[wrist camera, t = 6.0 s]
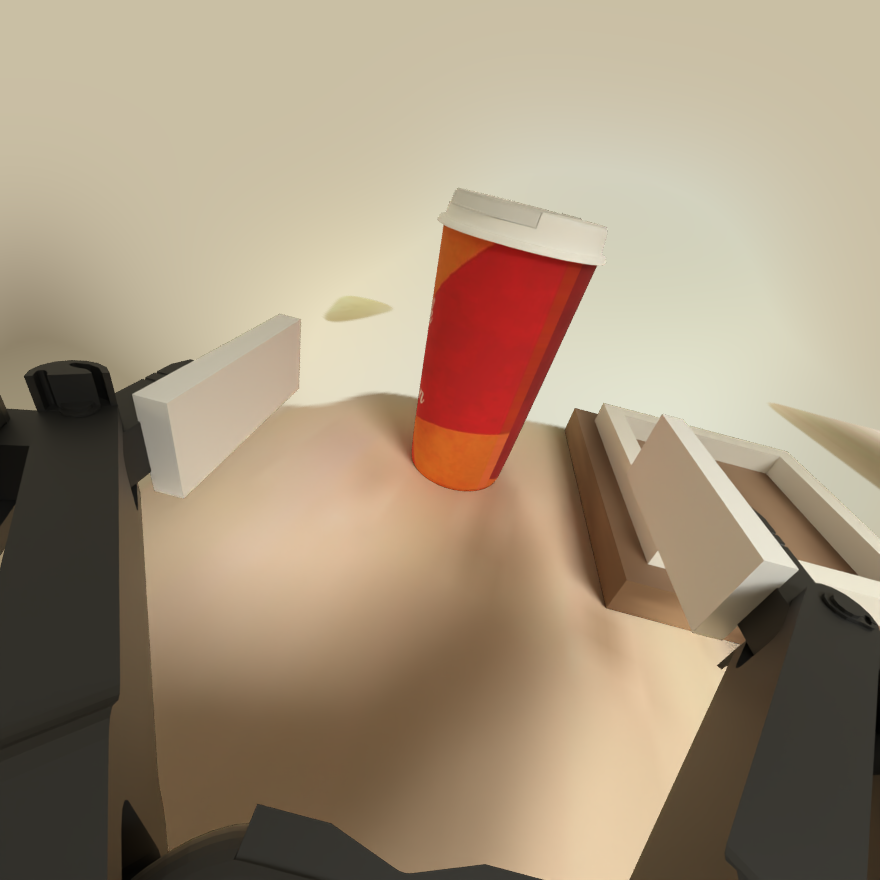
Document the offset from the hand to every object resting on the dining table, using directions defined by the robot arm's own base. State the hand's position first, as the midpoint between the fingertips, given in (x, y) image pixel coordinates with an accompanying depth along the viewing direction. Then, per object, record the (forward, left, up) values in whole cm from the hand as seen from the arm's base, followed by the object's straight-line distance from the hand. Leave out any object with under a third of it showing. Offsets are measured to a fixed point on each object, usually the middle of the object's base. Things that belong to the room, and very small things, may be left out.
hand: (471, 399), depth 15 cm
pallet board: (-16, -7, -8) cm, 20 cm away
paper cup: (0, -7, -8) cm, 11 cm away
